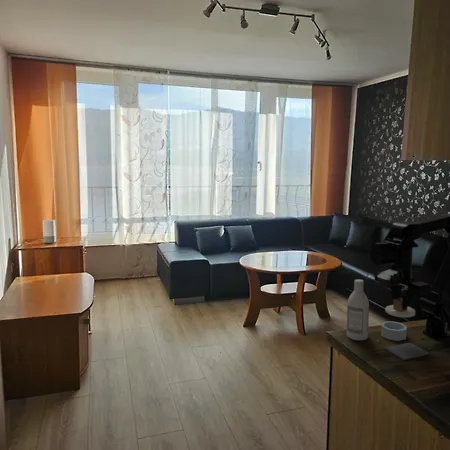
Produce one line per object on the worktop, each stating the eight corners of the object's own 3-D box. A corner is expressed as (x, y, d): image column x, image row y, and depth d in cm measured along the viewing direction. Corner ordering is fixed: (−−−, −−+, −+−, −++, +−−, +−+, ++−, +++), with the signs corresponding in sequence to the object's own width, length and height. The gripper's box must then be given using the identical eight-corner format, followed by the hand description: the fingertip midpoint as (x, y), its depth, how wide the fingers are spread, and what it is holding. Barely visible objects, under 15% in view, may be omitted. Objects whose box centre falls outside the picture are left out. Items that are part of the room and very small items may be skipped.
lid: (399, 305, 138) (400, 293, 137) (421, 314, 130) (422, 301, 129) (379, 309, 135) (379, 297, 134) (400, 319, 126) (401, 306, 126)
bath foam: (357, 331, 143) (359, 276, 140) (372, 338, 137) (374, 281, 134) (342, 335, 140) (343, 279, 137) (356, 342, 134) (358, 284, 131)
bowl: (394, 329, 144) (394, 320, 143) (411, 338, 136) (411, 328, 136) (376, 333, 141) (376, 323, 140) (392, 342, 134) (393, 332, 133)
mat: (409, 343, 132) (409, 342, 132) (429, 354, 125) (429, 353, 125) (384, 349, 129) (384, 347, 129) (403, 360, 121) (403, 358, 121)
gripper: (362, 258, 135) (361, 302, 138) (406, 271, 118) (404, 322, 121) (387, 254, 139) (386, 297, 142) (434, 266, 122) (431, 315, 125)
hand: (400, 307), depth 132 cm, fingers closed on lid, 3 cm apart
